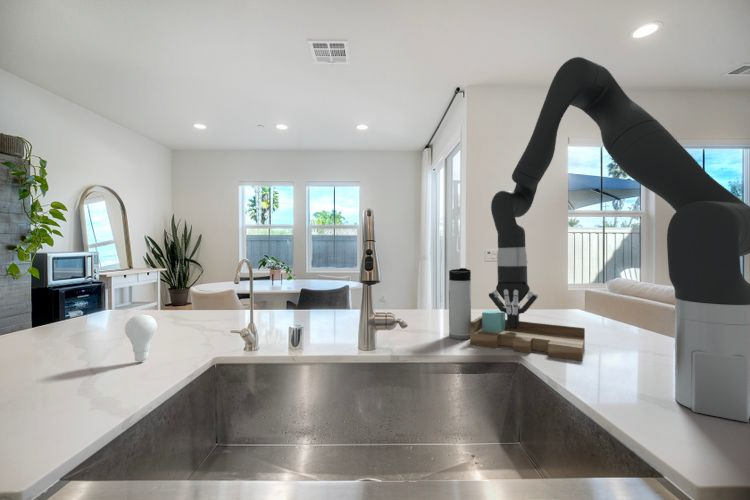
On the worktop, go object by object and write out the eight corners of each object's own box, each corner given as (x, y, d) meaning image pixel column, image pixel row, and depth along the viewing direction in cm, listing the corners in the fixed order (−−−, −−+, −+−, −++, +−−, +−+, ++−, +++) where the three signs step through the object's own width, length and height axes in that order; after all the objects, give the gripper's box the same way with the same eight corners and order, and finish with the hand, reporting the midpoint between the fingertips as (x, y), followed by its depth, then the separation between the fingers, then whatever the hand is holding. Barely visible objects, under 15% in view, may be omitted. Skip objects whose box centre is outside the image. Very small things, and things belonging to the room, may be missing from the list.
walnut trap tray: (582, 361, 79) (582, 334, 79) (470, 344, 94) (470, 321, 94) (584, 349, 89) (584, 325, 89) (482, 335, 103) (482, 315, 103)
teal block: (500, 332, 94) (500, 314, 94) (482, 330, 97) (482, 312, 97) (505, 329, 98) (505, 311, 98) (487, 327, 101) (487, 309, 101)
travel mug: (474, 335, 103) (474, 268, 103) (467, 340, 97) (467, 269, 97) (453, 333, 106) (453, 267, 106) (445, 337, 101) (445, 268, 100)
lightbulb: (160, 362, 80) (160, 314, 80) (128, 368, 75) (128, 318, 75) (152, 356, 84) (152, 311, 84) (122, 362, 79) (121, 314, 79)
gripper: (483, 264, 95) (484, 328, 95) (535, 264, 88) (537, 333, 88) (491, 263, 102) (492, 323, 101) (540, 263, 94) (542, 327, 94)
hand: (513, 327), depth 95 cm, fingers closed
